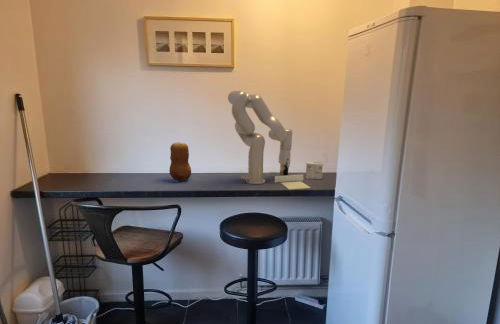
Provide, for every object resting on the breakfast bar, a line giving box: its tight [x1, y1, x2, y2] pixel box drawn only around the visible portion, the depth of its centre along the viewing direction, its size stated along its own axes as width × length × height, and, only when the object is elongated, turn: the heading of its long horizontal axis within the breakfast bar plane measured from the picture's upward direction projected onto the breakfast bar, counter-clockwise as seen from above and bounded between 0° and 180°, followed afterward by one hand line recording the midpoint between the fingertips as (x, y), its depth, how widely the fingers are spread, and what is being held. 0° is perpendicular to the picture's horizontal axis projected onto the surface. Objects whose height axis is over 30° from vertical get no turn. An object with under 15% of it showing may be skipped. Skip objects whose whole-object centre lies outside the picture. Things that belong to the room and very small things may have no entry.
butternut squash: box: [168, 142, 192, 182], centre depth 200 cm, size 14×13×25 cm
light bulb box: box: [305, 161, 323, 180], centre depth 212 cm, size 11×7×11 cm, turn 84°
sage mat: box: [280, 181, 311, 191], centre depth 194 cm, size 14×14×1 cm
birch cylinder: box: [279, 163, 287, 176], centre depth 210 cm, size 6×6×8 cm
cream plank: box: [274, 174, 304, 183], centre depth 204 cm, size 20×1×4 cm, turn 105°
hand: (283, 173), depth 210 cm, fingers closed on birch cylinder, 5 cm apart
